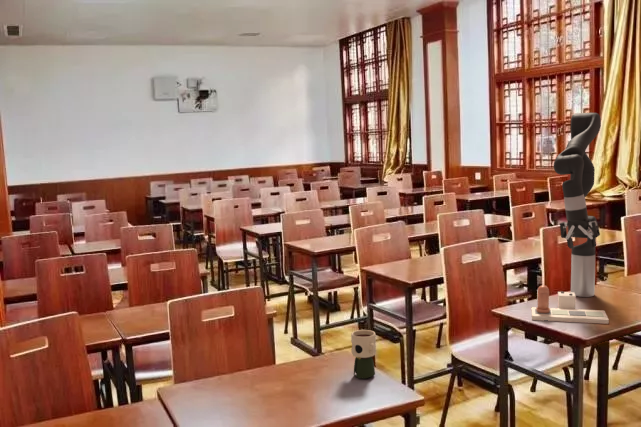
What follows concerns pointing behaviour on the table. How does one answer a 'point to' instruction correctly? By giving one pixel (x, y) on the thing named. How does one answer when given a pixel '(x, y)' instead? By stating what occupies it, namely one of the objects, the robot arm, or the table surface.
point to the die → (566, 300)
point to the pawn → (543, 300)
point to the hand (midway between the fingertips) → (582, 248)
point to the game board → (571, 315)
